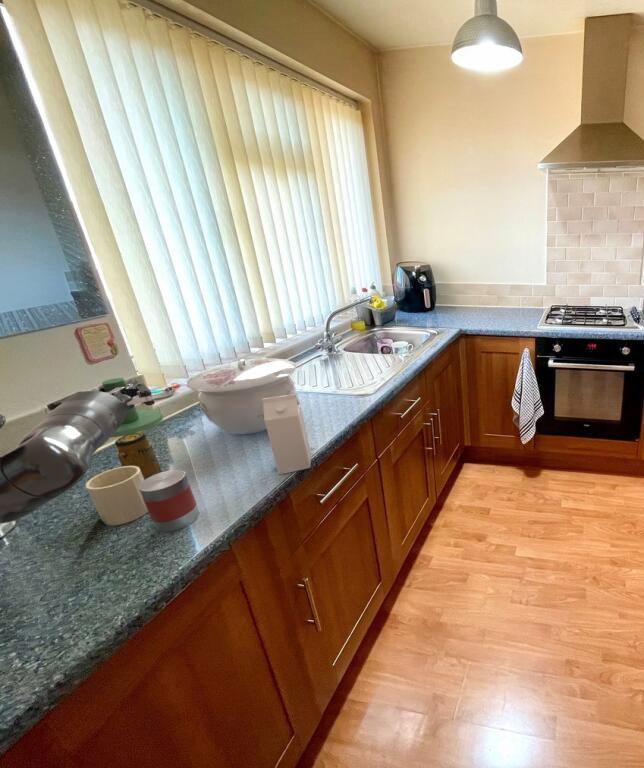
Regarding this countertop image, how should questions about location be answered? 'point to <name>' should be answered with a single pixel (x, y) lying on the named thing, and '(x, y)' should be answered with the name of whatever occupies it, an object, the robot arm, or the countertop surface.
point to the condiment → (138, 454)
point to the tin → (169, 500)
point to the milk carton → (287, 433)
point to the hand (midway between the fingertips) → (122, 385)
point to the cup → (118, 495)
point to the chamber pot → (242, 392)
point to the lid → (133, 414)
